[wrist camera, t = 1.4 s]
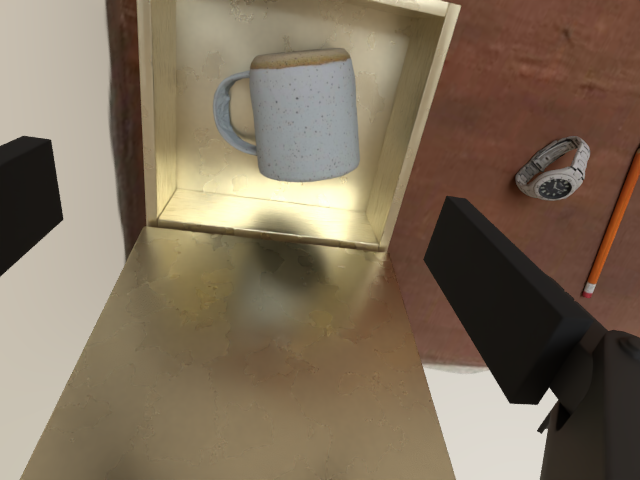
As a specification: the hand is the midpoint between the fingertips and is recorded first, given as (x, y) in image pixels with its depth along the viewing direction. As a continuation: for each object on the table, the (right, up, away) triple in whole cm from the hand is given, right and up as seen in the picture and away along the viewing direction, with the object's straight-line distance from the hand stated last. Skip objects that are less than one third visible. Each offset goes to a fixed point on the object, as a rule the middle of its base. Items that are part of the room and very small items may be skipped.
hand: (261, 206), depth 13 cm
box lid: (-1, -7, +9) cm, 11 cm away
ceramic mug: (-1, +9, +18) cm, 20 cm away
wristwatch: (+23, +6, +23) cm, 33 cm away
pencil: (+32, +1, +27) cm, 42 cm away
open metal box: (-1, +10, +18) cm, 21 cm away
